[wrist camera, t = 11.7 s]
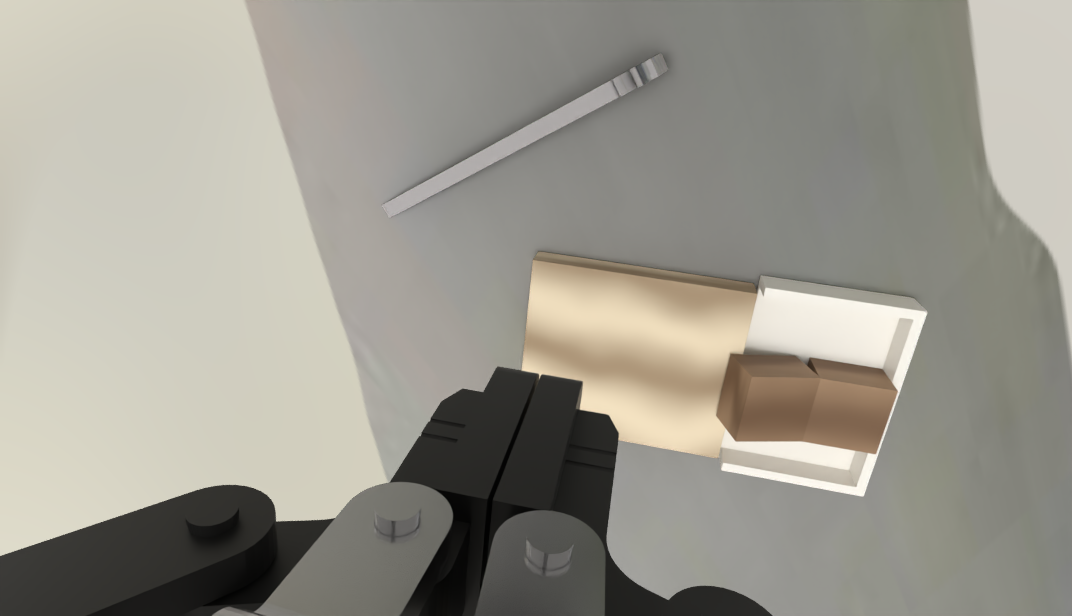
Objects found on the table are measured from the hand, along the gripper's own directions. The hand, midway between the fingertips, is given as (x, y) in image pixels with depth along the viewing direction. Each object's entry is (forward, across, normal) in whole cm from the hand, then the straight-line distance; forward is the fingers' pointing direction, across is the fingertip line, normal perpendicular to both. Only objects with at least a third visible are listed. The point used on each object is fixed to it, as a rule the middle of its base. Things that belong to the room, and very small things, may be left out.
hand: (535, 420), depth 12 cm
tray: (+32, -14, +13) cm, 37 cm away
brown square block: (+30, -10, +13) cm, 35 cm away
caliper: (+32, +7, 0) cm, 33 cm away
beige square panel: (+32, -2, +13) cm, 35 cm away
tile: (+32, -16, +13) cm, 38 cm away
